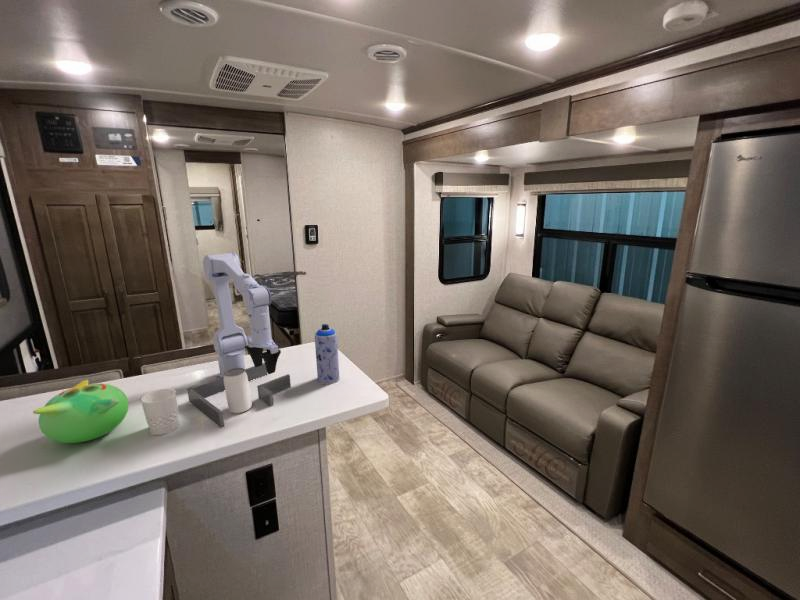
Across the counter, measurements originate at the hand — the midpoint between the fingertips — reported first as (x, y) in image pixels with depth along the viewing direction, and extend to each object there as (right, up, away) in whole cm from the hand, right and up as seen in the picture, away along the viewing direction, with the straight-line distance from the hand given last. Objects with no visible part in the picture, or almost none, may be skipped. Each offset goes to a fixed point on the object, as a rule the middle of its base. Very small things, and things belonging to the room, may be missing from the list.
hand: (264, 369), depth 114 cm
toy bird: (-41, -15, -15) cm, 46 cm away
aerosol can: (+16, -7, +16) cm, 24 cm away
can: (-6, -11, -2) cm, 13 cm away
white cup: (-23, -14, -12) cm, 30 cm away
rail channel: (-8, -10, +4) cm, 13 cm away
